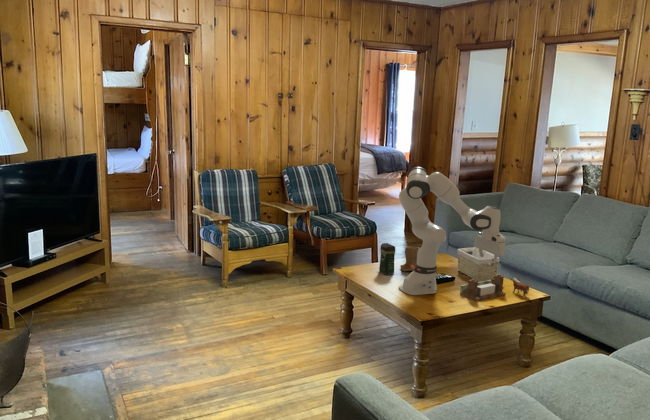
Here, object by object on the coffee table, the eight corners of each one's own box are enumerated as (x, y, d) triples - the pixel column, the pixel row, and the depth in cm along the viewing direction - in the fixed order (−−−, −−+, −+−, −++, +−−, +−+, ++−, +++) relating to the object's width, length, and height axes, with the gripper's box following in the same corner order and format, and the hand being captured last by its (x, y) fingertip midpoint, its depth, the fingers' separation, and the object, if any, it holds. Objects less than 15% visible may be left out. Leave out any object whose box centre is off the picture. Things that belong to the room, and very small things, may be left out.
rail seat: (475, 301, 297) (477, 282, 295) (460, 294, 307) (461, 275, 305) (505, 294, 308) (507, 276, 306) (489, 288, 318) (491, 270, 316)
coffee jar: (396, 274, 337) (397, 245, 334) (385, 275, 334) (386, 246, 330) (387, 269, 346) (389, 241, 342) (377, 271, 343) (378, 242, 339)
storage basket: (499, 280, 333) (501, 257, 330) (476, 282, 327) (478, 259, 324) (475, 268, 355) (477, 246, 352) (454, 270, 349) (456, 248, 346)
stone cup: (416, 265, 356) (418, 243, 353) (425, 271, 345) (427, 248, 342) (395, 267, 351) (397, 245, 348) (403, 273, 340) (405, 250, 337)
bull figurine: (513, 289, 318) (515, 276, 316) (529, 297, 305) (531, 284, 304) (507, 290, 316) (509, 276, 314) (523, 298, 304) (525, 284, 302)
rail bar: (479, 295, 302) (480, 288, 301) (475, 293, 305) (475, 286, 304) (495, 292, 308) (495, 285, 307) (490, 290, 311) (491, 283, 310)
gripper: (472, 231, 307) (470, 254, 310) (500, 240, 289) (497, 265, 292) (480, 230, 310) (478, 253, 313) (508, 239, 293) (505, 263, 295)
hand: (487, 259), depth 302 cm, fingers open, 8 cm apart
